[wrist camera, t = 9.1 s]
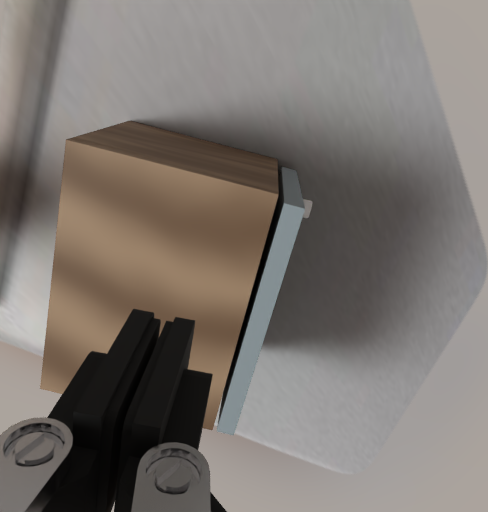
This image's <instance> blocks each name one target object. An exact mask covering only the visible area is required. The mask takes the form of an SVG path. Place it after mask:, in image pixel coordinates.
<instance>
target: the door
mask: <svg viewBox="0 0 488 512" xmlns="http://www.w3.org/2000/svg"><path fill="white" fill-rule="evenodd" d="M278 190H279V195H278V199H277V202H276V206H275V209H274V213H273V217H272V220H271V224H270V227H269V231H268V234H267V238H266V241H265V245H264V249H263V252H262V256H261V259H260V263H259V266H258V270H257V273H256V277H255V281H254V284H253V288H252V291H251V295H250V298H249V302H248V305H247V309H246V313H245V316H244V320H243V323H242V327H241V330H240V334H239V337H238V341H237V344H236V348H235V352H234V355H233V359H232V362H231V366H230V369H229V373H228V376H227V380H226V384H225V387H224V391H223V396H222V402H221V408H220V414H219V420H218V426H217V431H218V432H222V433H226V434H230V435H234V433H235V429H236V426H237V423H238V420H239V417H240V414H241V410H242V407H243V404H244V401H245V398H246V395H247V391H248V388H249V385H250V382H251V379H252V376H253V372H254V369H255V366H256V363H257V360H258V357H259V353H260V350H261V347H262V344H263V341H264V338H265V334H266V331H267V328H268V325H269V322H270V319H271V315H272V312H273V309H274V306H275V303H276V300H277V296H278V293H279V290H280V287H281V284H282V281H283V277H284V274H285V271H286V268H287V265H288V262H289V258H290V255H291V252H292V249H293V246H294V243H295V240H296V236H297V233H298V230H299V227H300V224H301V221H302V217H303V218H307V219H308V217H309V215H310V212H311V208H312V203H313V202H312V201H310V200H306V199H303V197H302V193H301V189H300V184H299V180H298V176H297V171H296V170H293V169H289V168H285V167H281V170H280V174H279V177H278Z"/></svg>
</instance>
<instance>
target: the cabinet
mask: <svg viewBox="0 0 488 512" xmlns="http://www.w3.org/2000/svg"><path fill="white" fill-rule="evenodd" d="M278 195H279V190H278V160H277V159H275V158H271V157H267V156H263V155H259V154H255V153H252V152H248V151H244V150H240V149H236V148H232V147H229V146H225V145H221V144H217V143H213V142H209V141H206V140H202V139H198V138H194V137H190V136H186V135H183V134H179V133H175V132H171V131H167V130H163V129H160V128H156V127H152V126H148V125H144V124H141V123H137V122H133V121H127V122H124V123H120V124H117V125H114V126H110V127H107V128H104V129H100V130H97V131H94V132H90V133H87V134H83V135H80V136H77V137H73V138H70V139H67V140H66V146H65V155H64V165H63V174H62V184H61V194H60V203H59V213H58V223H57V232H56V242H55V251H54V261H53V271H52V280H51V290H50V299H49V309H48V319H47V328H46V338H45V347H44V357H43V367H42V377H41V386H40V388H41V389H44V390H48V391H52V392H56V393H60V394H63V393H64V391H65V389H66V388H67V386H68V385H69V383H70V382H71V380H72V379H73V377H74V376H75V374H76V372H77V371H78V369H79V368H80V366H81V365H82V363H83V362H84V360H85V358H86V357H87V355H88V354H89V353H90V352H91V351H96V352H101V353H106V354H107V353H108V351H109V349H110V348H111V346H112V344H113V343H114V341H115V339H116V337H117V336H118V334H119V332H120V331H121V329H122V327H123V325H124V324H125V322H126V320H127V318H128V317H129V315H130V313H131V312H132V310H133V309H138V310H143V311H148V312H154V318H156V319H160V320H161V325H160V332H159V336H160V334H161V332H162V329H163V327H164V325H165V322H166V321H172V322H173V321H174V318H175V317H180V318H185V319H190V320H195V328H194V334H193V340H192V346H191V352H190V359H189V365H188V369H190V370H195V371H200V372H205V373H211V374H213V376H212V382H211V387H210V392H209V398H208V403H207V408H206V413H205V418H204V423H203V428H205V429H209V430H212V429H213V426H214V423H215V419H216V416H217V412H218V408H219V405H220V401H221V398H222V394H223V391H224V387H225V384H226V380H227V376H228V373H229V369H230V366H231V362H232V359H233V355H234V352H235V348H236V344H237V341H238V337H239V334H240V330H241V327H242V323H243V320H244V316H245V313H246V309H247V305H248V302H249V298H250V295H251V291H252V288H253V284H254V281H255V277H256V273H257V270H258V266H259V263H260V259H261V256H262V252H263V249H264V245H265V241H266V238H267V234H268V231H269V227H270V224H271V220H272V217H273V213H274V209H275V206H276V202H277V199H278Z"/></svg>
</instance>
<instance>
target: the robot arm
mask: <svg viewBox="0 0 488 512" xmlns="http://www.w3.org/2000/svg"><path fill="white" fill-rule="evenodd" d="M160 325H161V320H160V319H156V318H154V312H148V311H143V310H138V309H133V310H132V312H131V313H130V315H129V317H128V318H127V320H126V322H125V324H124V325H123V327H122V329H121V331H120V332H119V334H118V336H117V337H116V339H115V341H114V343H113V344H112V346H111V348H110V349H109V351H108V353H107V354H106V353H101V352H96V351H91V352H90V353H89V354H88V355H87V357H86V358H85V360H84V362H83V363H82V365H81V366H80V368H79V369H78V371H77V372H76V374H75V376H74V377H73V379H72V380H71V382H70V383H69V385H68V386H67V388H66V389H65V391H64V393H63V394H62V396H61V397H60V399H59V400H58V402H57V403H56V405H55V407H54V408H53V410H52V411H51V413H50V414H49V416H48V417H47V418H32V419H28V420H24V421H21V422H19V423H17V424H15V425H13V426H11V427H9V428H8V429H7V430H6V431H5V432H3V433H2V434H1V435H0V512H111V510H112V507H113V504H114V502H115V508H114V512H226V511H225V509H224V508H223V507H222V505H221V504H220V503H219V502H218V501H217V499H216V498H215V497H214V496H213V494H212V493H211V492H210V471H209V465H208V462H207V461H206V459H205V457H204V456H203V455H202V454H201V453H200V452H199V451H198V448H199V443H200V437H201V433H202V428H203V423H204V418H205V413H206V408H207V403H208V398H209V392H210V387H211V382H212V376H213V374H211V373H205V372H200V371H195V370H190V369H188V365H189V359H190V352H191V346H192V340H193V334H194V328H195V320H190V319H185V318H180V317H175V318H174V321H173V322H172V321H166V322H165V325H164V327H163V329H162V332H161V334H160V336H159V332H160Z"/></svg>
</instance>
